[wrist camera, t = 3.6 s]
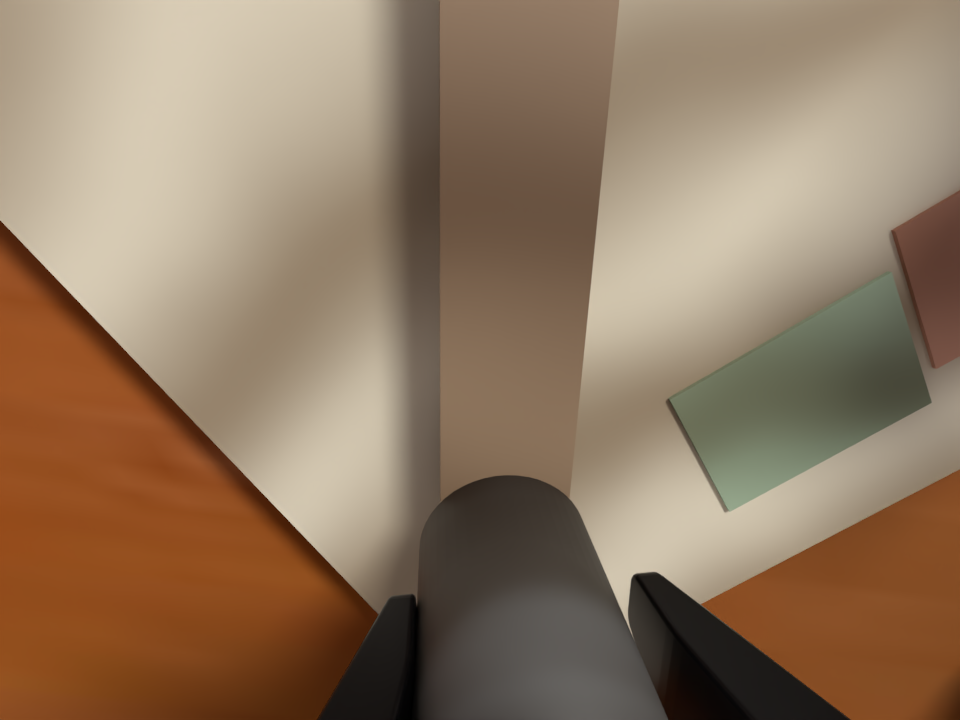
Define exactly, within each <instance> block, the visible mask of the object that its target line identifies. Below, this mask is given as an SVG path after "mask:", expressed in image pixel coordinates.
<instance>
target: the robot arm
mask: <svg viewBox="0 0 960 720" xmlns="http://www.w3.org/2000/svg"><path fill="white" fill-rule="evenodd" d="M416 617H417V603H416V597H415V596H414V595H413V594H403V595H393V596H391V597H389V598H388V600H387V601H386V603H385V605H384V606H383V608H382V610H381V612H380V613H379V615H378V617H377V618H376V620H375V622H374V623H373V625H372V627H371V629H370V630H369V632H368V634H367V635H366V637H365V639H364V640H363V642H362V644H361V646H360V647H359V649H358V651H357V652H356V654H355V656H354V658H353V659H352V661H351V663H350V664H349V666H348V668H347V669H346V671H345V673H344V675H343V676H342V678H341V680H340V681H339V683H338V685H337V686H336V688H335V690H334V692H333V693H332V695H331V697H330V698H329V700H328V702H327V703H326V705H325V707H324V709H323V710H322V712H321V714H320V715H319V717H318V719H317V720H412V705H413V691H414V674H415V645H416ZM628 620H629V625H630V628H631V632H632V635H633V638H634V641H635V643H636V645H637V648H638V650H639V652H640V655H641V657H642V659H643V662H644V664H645V666H646V669H647V671H648V673H649V676H650V678H651V680H652V683H653V685H654V687H655V690H656V692H657V694H658V697H659V699H660V701H661V704H662V706H663V708H664V711H665V713H666V715H667V718H668V720H850V719H849V718H848V717H846V716H845V715H844V714H843V713H841V712H840V711H839V710H837V709H836V708H835V707H833V706H832V705H831V704H829V703H828V702H827V701H826V700H824V699H823V698H822V697H820V696H819V695H818V694H816V693H815V692H814V691H813V690H811V689H810V688H809V687H807V686H806V685H805V684H803V683H802V682H801V681H799V680H798V679H797V678H796V677H794V676H793V675H792V674H790V673H789V672H788V671H786V670H785V669H784V668H782V667H781V666H780V665H779V664H777V663H776V662H775V661H773V660H772V659H771V658H769V657H768V656H767V655H766V654H764V653H763V652H762V651H760V650H759V649H758V648H756V647H755V646H754V645H752V644H751V643H750V642H749V641H747V640H746V639H745V638H743V637H742V636H741V635H739V634H738V633H737V632H736V631H734V630H733V629H732V628H730V627H729V626H728V625H726V624H725V623H724V622H722V621H721V620H720V619H719V618H717V617H716V616H715V615H713V614H712V613H711V612H709V611H708V610H707V609H705V608H704V607H703V606H702V605H700V604H699V603H698V602H696V601H695V600H694V599H692V598H691V597H690V596H689V595H687V594H686V593H685V592H683V591H682V590H681V589H679V588H678V587H677V586H675V585H674V584H673V583H672V582H670V581H669V580H668V579H666V578H665V577H664V576H662V575H661V574H659V573H657V572H645V573H636V574H634V575H633V576H632V578H631V585H630V594H629V604H628Z"/></svg>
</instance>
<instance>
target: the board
mask: <svg viewBox="0 0 960 720" xmlns="http://www.w3.org/2000/svg"><path fill="white" fill-rule="evenodd" d="M0 221H1V222H2V223H3V224H4V225H5V226H6V227H7V228H8V229H9V230H10V231H11V232H12V233H13V234H14V235H15V236H16V237H17V238H18V239H19V240H20V241H21V242H22V243H23V244H24V246H25V247H26V248H27V249H28V250H29V251H30V252H31V253H32V254H33V255H34V256H35V257H36V258H37V259H38V260H39V261H40V262H41V263H42V264H43V265H44V266H45V267H46V268H47V269H48V271H49V272H50V273H51V274H52V275H53V276H54V277H55V278H56V279H57V280H58V281H59V282H60V283H61V284H62V285H63V286H64V287H65V288H66V289H67V290H68V291H69V292H70V293H71V294H72V296H73V297H74V298H75V299H76V300H77V301H78V302H79V303H80V304H81V305H82V306H83V307H84V308H85V309H86V310H87V311H88V312H89V313H90V314H91V315H92V316H93V317H94V318H95V319H96V321H97V322H98V323H99V324H100V325H101V326H102V327H103V328H104V329H105V330H106V331H107V332H108V333H109V334H110V335H111V336H112V337H113V338H114V339H115V340H116V341H117V342H118V343H119V344H120V346H121V347H122V348H123V349H124V350H125V351H126V352H127V353H128V354H129V355H130V356H131V357H132V358H133V359H134V360H135V361H136V362H137V363H138V364H139V365H140V366H141V367H142V368H143V369H144V371H145V372H146V373H147V374H148V375H149V376H150V377H151V378H152V379H153V380H154V381H155V382H156V383H157V384H158V385H159V386H160V387H161V388H162V389H163V390H164V391H165V392H166V393H167V395H168V396H169V397H170V398H171V399H172V400H173V401H174V402H175V403H176V404H177V405H178V406H179V407H180V408H181V409H182V410H183V411H184V412H185V413H186V414H187V415H188V416H189V417H190V418H191V420H192V421H193V422H194V423H195V424H196V425H197V426H198V427H199V428H200V429H201V430H202V431H203V432H204V433H205V434H206V435H207V436H208V437H209V438H210V439H211V440H212V441H213V442H214V443H215V445H216V446H217V447H218V448H219V449H220V450H221V451H222V452H223V453H224V454H225V455H226V456H227V457H228V458H229V459H230V460H231V461H232V462H233V463H234V464H235V465H236V466H237V467H238V468H239V470H240V471H241V472H242V473H243V474H244V475H245V476H246V477H247V478H248V479H249V480H250V481H251V482H252V483H253V484H254V485H255V486H256V487H257V488H258V489H259V490H260V491H261V492H262V493H263V495H264V496H265V497H266V498H267V499H268V500H269V501H270V502H271V503H272V504H273V505H274V506H275V507H276V508H277V509H278V510H279V511H280V512H281V513H282V514H283V515H284V516H285V517H286V518H287V520H288V521H289V522H290V523H291V524H292V525H293V526H294V527H295V528H296V529H297V530H298V531H299V532H300V533H301V534H302V535H303V536H304V537H305V538H306V539H307V540H308V541H309V542H310V543H311V545H312V546H313V547H314V548H315V549H316V550H317V551H318V552H319V553H320V554H321V555H322V556H323V557H324V558H325V559H326V560H327V561H328V562H329V563H330V564H331V565H332V566H333V567H334V568H335V570H336V571H337V572H338V573H339V574H340V575H341V576H342V577H343V578H344V579H345V580H346V581H347V582H348V583H349V584H350V585H351V586H352V587H353V588H354V589H355V590H356V591H357V592H358V593H359V595H360V596H361V597H362V598H363V599H364V600H365V601H366V602H367V603H368V604H369V605H370V606H371V607H372V608H373V609H374V610H375V611H376V612H377V613H378V614H379V613H380V612H381V610H382V608H383V606H384V605H385V603H386V601H387V600H388V598H389V597H391V596H393V595H403V594H413V595H414V596H415V597H416V603H417V591H418V569H419V548H420V539H421V534H422V531H423V528H424V526H425V523H426V521H427V520H428V518H429V516H430V514H431V513H432V512H433V510H434V509H435V508H436V507H437V506H438V505H439V504H440V205H439V0H0ZM959 469H960V0H619V9H618V19H617V29H616V39H615V49H614V59H613V69H612V79H611V89H610V99H609V109H608V119H607V129H606V139H605V149H604V159H603V169H602V179H601V189H600V199H599V209H598V219H597V229H596V239H595V249H594V259H593V269H592V279H591V289H590V299H589V309H588V319H587V329H586V339H585V349H584V359H583V369H582V379H581V389H580V399H579V409H578V419H577V429H576V439H575V449H574V459H573V469H572V479H571V489H570V500H571V501H572V502H573V504H574V505H575V506H576V508H577V509H578V511H579V513H580V515H581V518H582V520H583V522H584V524H585V527H586V529H587V531H588V534H589V536H590V538H591V541H592V543H593V545H594V548H595V550H596V552H597V555H598V557H599V559H600V562H601V564H602V566H603V569H604V571H605V573H606V576H607V578H608V580H609V583H610V585H611V587H612V590H613V592H614V594H615V597H616V599H617V601H618V604H619V606H620V608H621V611H622V613H623V615H624V618H625V620H626V622H627V625H628V627H629V629H630V631H631V628H630V625H629V620H628V604H629V594H630V585H631V578H632V576H633V575H634V574H636V573H645V572H657V573H659V574H661V575H662V576H664V577H665V578H666V579H668V580H669V581H670V582H672V583H673V584H674V585H675V586H677V587H678V588H679V589H681V590H682V591H683V592H685V593H686V594H687V595H689V596H690V597H691V598H692V599H694V600H695V601H696V602H698V603H699V604H702V603H704V602H706V601H707V600H709V599H711V598H713V597H715V596H717V595H719V594H721V593H723V592H725V591H727V590H729V589H731V588H732V587H734V586H736V585H738V584H740V583H742V582H744V581H746V580H748V579H750V578H752V577H754V576H755V575H757V574H759V573H761V572H763V571H765V570H767V569H769V568H771V567H773V566H775V565H777V564H779V563H780V562H782V561H784V560H786V559H788V558H790V557H792V556H794V555H796V554H798V553H800V552H802V551H803V550H805V549H807V548H809V547H811V546H813V545H815V544H817V543H819V542H821V541H823V540H825V539H827V538H828V537H830V536H832V535H834V534H836V533H838V532H840V531H842V530H844V529H846V528H848V527H850V526H852V525H853V524H855V523H857V522H859V521H861V520H863V519H865V518H867V517H869V516H871V515H873V514H875V513H876V512H878V511H880V510H882V509H884V508H886V507H888V506H890V505H892V504H894V503H896V502H898V501H900V500H901V499H903V498H905V497H907V496H909V495H911V494H913V493H915V492H917V491H919V490H921V489H923V488H924V487H926V486H928V485H930V484H932V483H934V482H936V481H938V480H940V479H942V478H944V477H946V476H948V475H949V474H951V473H953V472H955V471H957V470H959ZM631 634H632V632H631ZM632 636H633V635H632Z"/></svg>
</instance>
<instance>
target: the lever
mask: <svg viewBox="0 0 960 720" xmlns="http://www.w3.org/2000/svg"><path fill="white" fill-rule="evenodd" d="M618 9H619V0H439V205H440V504H439V505H438V506H437V507H436V508H435V509H434V510H433V512H432V513H431V514H430V516H429V518H428V520H427V521H426V523H425V526H424V528H423V531H422V534H421V539H420V548H419V569H418V591H417V617H416V645H415V674H414V691H413V705H412V720H668V718H667V715H666V713H665V711H664V708H663V706H662V704H661V701H660V699H659V697H658V694H657V692H656V690H655V687H654V685H653V683H652V680H651V678H650V676H649V673H648V671H647V669H646V666H645V664H644V662H643V659H642V657H641V655H640V652H639V650H638V648H637V645H636V643H635V641H634V638H633V636H632V634H631V631H630V629H629V627H628V625H627V622H626V620H625V618H624V615H623V613H622V611H621V608H620V606H619V604H618V601H617V599H616V597H615V594H614V592H613V590H612V587H611V585H610V583H609V580H608V578H607V576H606V573H605V571H604V569H603V566H602V564H601V562H600V559H599V557H598V555H597V552H596V550H595V548H594V545H593V543H592V541H591V538H590V536H589V534H588V531H587V529H586V527H585V524H584V522H583V520H582V518H581V515H580V513H579V511H578V509H577V508H576V506H575V505H574V504H573V502H572V501H571V500H570V489H571V479H572V469H573V459H574V449H575V439H576V429H577V419H578V409H579V399H580V389H581V379H582V369H583V359H584V349H585V339H586V329H587V319H588V309H589V299H590V289H591V279H592V269H593V259H594V249H595V239H596V229H597V219H598V209H599V199H600V189H601V179H602V169H603V159H604V149H605V139H606V129H607V119H608V109H609V99H610V89H611V79H612V69H613V59H614V49H615V39H616V29H617V19H618Z"/></svg>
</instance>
